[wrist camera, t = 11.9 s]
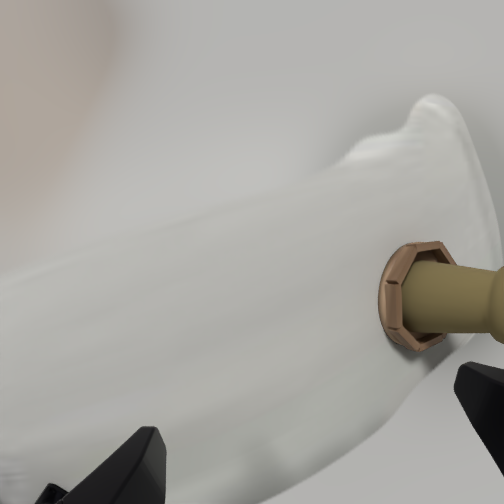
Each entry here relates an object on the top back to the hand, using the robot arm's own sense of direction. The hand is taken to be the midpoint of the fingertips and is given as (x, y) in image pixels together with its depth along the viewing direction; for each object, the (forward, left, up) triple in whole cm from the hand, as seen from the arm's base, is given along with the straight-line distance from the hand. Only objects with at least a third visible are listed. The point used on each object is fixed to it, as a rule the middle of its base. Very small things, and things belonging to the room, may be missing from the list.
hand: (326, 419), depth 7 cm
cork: (+11, -11, -11) cm, 19 cm away
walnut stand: (+11, -11, -12) cm, 20 cm away
